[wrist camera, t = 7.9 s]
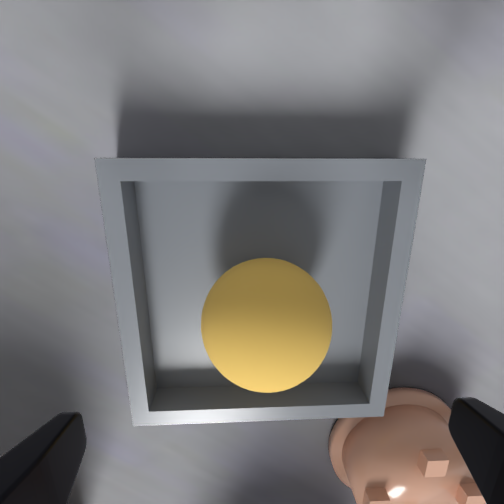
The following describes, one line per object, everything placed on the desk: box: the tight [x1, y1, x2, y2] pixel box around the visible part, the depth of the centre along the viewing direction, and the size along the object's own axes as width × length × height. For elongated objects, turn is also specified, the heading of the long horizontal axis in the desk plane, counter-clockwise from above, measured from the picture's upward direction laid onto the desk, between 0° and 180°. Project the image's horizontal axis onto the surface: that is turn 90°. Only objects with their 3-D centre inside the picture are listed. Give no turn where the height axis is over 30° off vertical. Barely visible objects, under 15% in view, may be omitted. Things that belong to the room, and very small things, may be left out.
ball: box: [201, 258, 332, 393], centre depth 12 cm, size 5×5×5 cm
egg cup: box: [328, 387, 486, 504], centre depth 16 cm, size 8×8×4 cm
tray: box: [94, 158, 426, 426], centre depth 14 cm, size 12×12×2 cm
